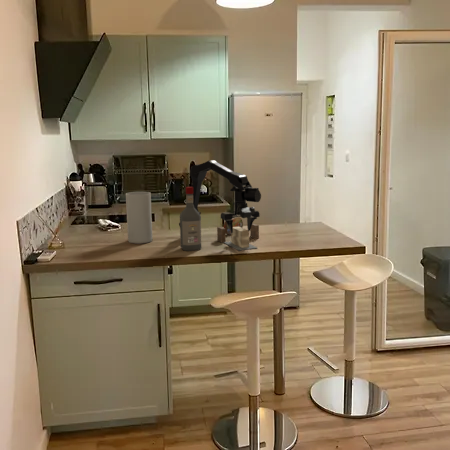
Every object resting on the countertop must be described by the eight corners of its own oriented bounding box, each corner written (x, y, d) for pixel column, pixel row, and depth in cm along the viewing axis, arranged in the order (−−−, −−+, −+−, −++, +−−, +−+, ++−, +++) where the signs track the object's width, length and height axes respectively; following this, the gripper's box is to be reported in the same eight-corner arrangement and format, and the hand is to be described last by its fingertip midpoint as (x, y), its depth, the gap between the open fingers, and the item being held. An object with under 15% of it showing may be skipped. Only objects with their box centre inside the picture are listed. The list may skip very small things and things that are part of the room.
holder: (221, 242, 267) (221, 229, 265) (217, 240, 272) (217, 227, 271) (258, 238, 275) (258, 225, 273) (253, 236, 280) (253, 223, 279)
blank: (231, 242, 264) (231, 227, 263) (238, 241, 266) (238, 226, 264) (241, 247, 253) (241, 231, 252) (249, 246, 255) (249, 230, 253)
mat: (238, 250, 250) (238, 249, 250) (223, 242, 266) (223, 242, 266) (257, 248, 254) (257, 247, 254) (241, 240, 270) (241, 240, 270)
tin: (227, 236, 282) (227, 220, 280) (222, 235, 283) (222, 220, 282) (243, 231, 293) (243, 216, 292) (238, 230, 295) (238, 216, 294)
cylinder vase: (123, 242, 269) (120, 194, 264) (136, 237, 280) (134, 191, 275) (144, 244, 264) (142, 195, 259) (156, 239, 275) (155, 192, 271)
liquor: (202, 250, 252) (201, 187, 246) (183, 251, 249) (182, 188, 243) (197, 245, 260) (196, 185, 255) (179, 247, 258) (178, 186, 252)
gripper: (229, 204, 244) (229, 237, 247) (264, 201, 252) (264, 233, 255) (219, 201, 254) (220, 232, 257) (254, 198, 262) (254, 229, 265)
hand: (240, 232), depth 258 cm, fingers open, 9 cm apart
